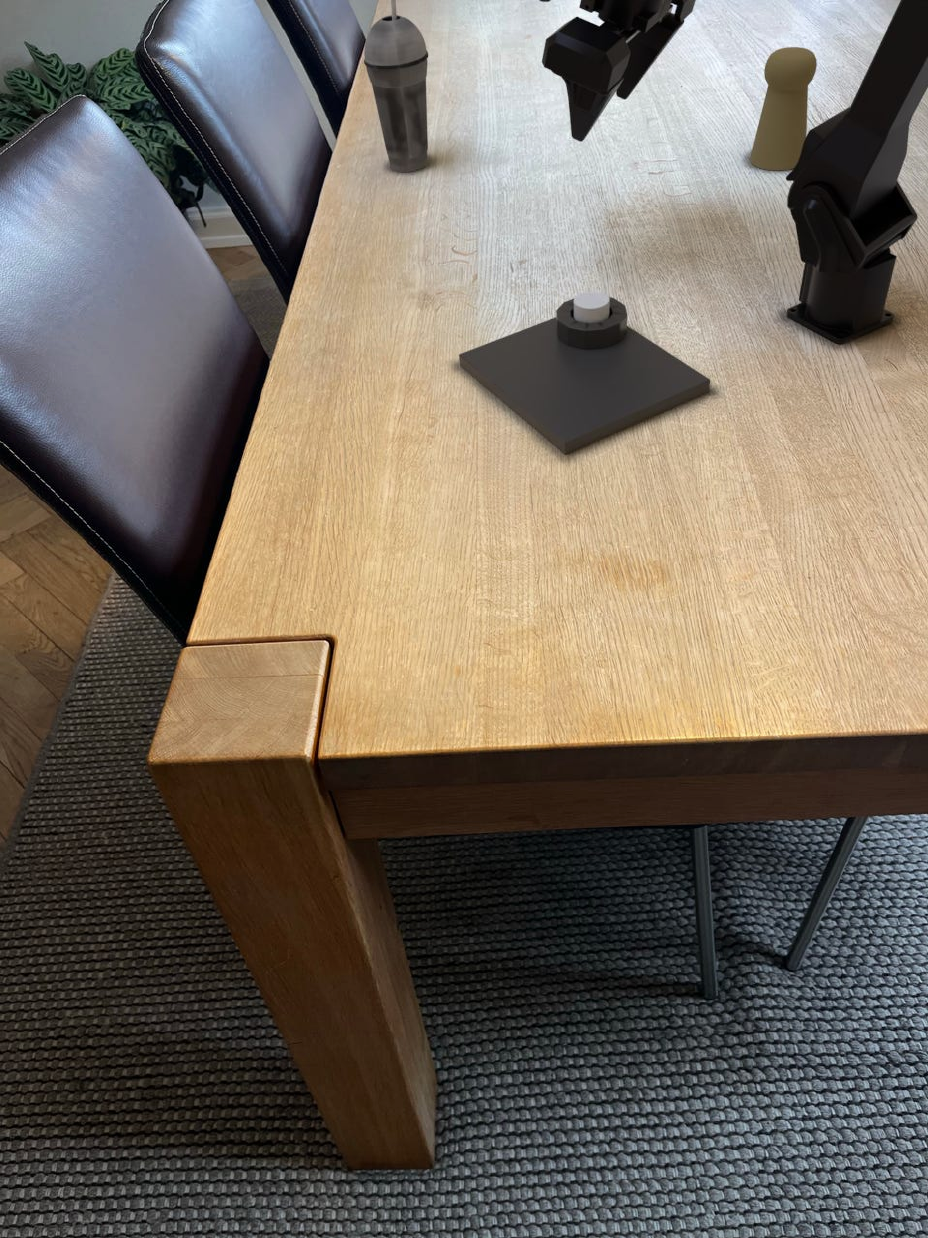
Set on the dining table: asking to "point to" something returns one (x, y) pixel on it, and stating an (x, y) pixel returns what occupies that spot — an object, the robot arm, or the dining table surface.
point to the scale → (583, 376)
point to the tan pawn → (784, 109)
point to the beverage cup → (399, 88)
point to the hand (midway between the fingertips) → (600, 117)
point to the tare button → (591, 307)
